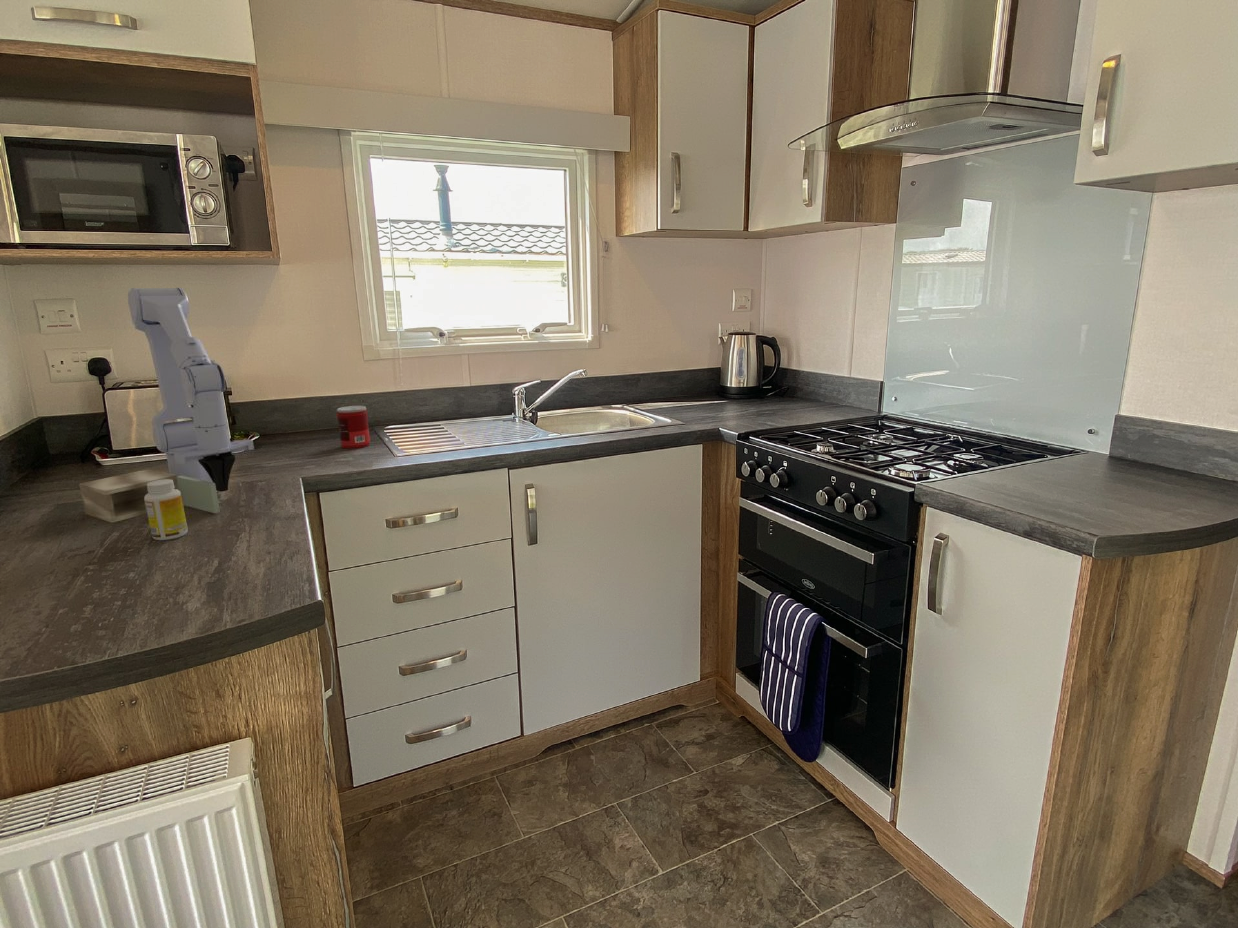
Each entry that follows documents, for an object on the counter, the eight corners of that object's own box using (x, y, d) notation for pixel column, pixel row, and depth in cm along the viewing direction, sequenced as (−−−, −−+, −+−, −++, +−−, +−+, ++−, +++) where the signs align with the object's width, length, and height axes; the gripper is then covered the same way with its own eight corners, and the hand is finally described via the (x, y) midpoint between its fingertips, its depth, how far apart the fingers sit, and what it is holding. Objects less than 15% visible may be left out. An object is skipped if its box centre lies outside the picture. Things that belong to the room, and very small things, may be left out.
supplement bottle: (194, 530, 127) (184, 477, 125) (178, 540, 122) (168, 485, 120) (162, 531, 127) (152, 478, 124) (145, 542, 122) (134, 487, 119)
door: (181, 504, 142) (176, 476, 141) (192, 501, 144) (187, 474, 143) (214, 513, 136) (209, 484, 134) (225, 510, 138) (221, 481, 136)
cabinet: (155, 497, 149) (149, 468, 147) (182, 504, 143) (176, 474, 142) (85, 514, 138) (79, 483, 137) (112, 522, 133) (105, 490, 131)
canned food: (375, 442, 199) (370, 405, 196) (362, 449, 191) (357, 410, 188) (349, 442, 199) (345, 405, 197) (336, 449, 192) (331, 410, 189)
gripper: (182, 433, 129) (194, 502, 132) (257, 420, 140) (267, 484, 144) (164, 430, 132) (176, 497, 136) (239, 418, 144) (249, 479, 147)
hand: (222, 490), depth 140 cm, fingers closed
